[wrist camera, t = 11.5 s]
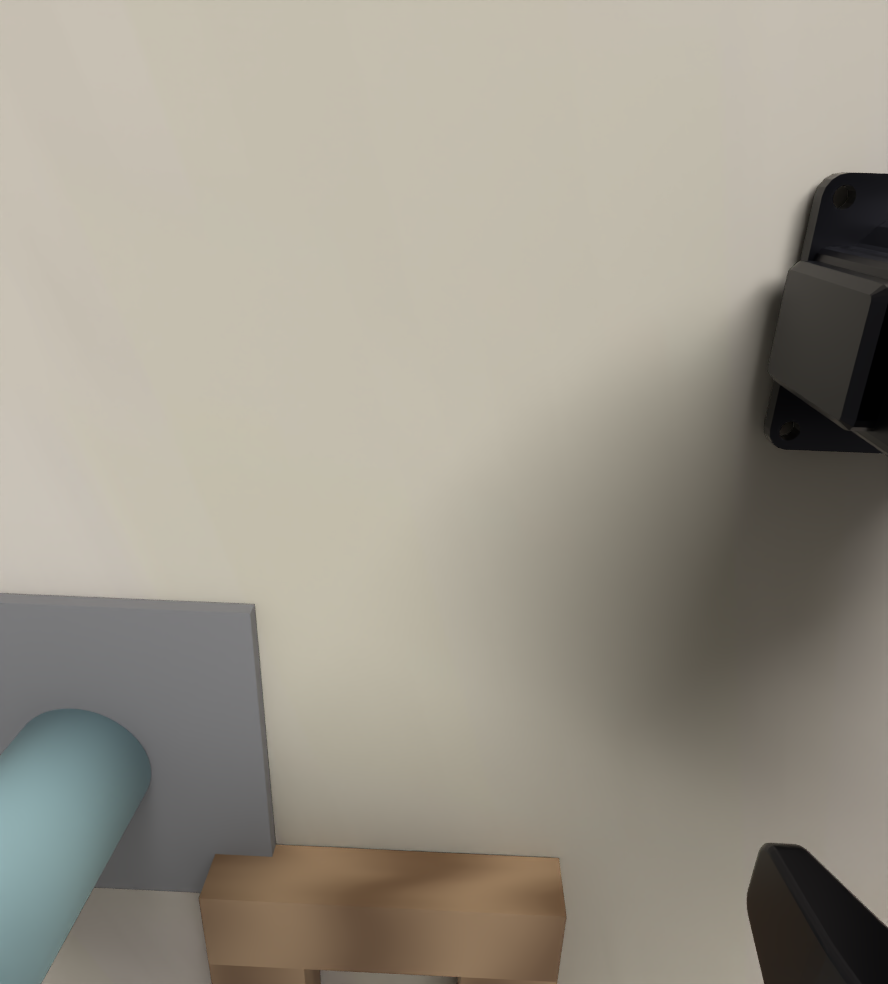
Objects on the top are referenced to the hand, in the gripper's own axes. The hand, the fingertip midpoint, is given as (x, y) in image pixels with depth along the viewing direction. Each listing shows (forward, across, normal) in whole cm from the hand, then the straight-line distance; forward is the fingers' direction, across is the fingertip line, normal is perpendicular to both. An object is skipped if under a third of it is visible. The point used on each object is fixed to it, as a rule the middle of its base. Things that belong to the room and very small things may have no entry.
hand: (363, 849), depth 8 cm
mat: (+12, +11, +11) cm, 20 cm away
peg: (+12, +11, +11) cm, 20 cm away
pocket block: (+12, +1, +21) cm, 24 cm away
